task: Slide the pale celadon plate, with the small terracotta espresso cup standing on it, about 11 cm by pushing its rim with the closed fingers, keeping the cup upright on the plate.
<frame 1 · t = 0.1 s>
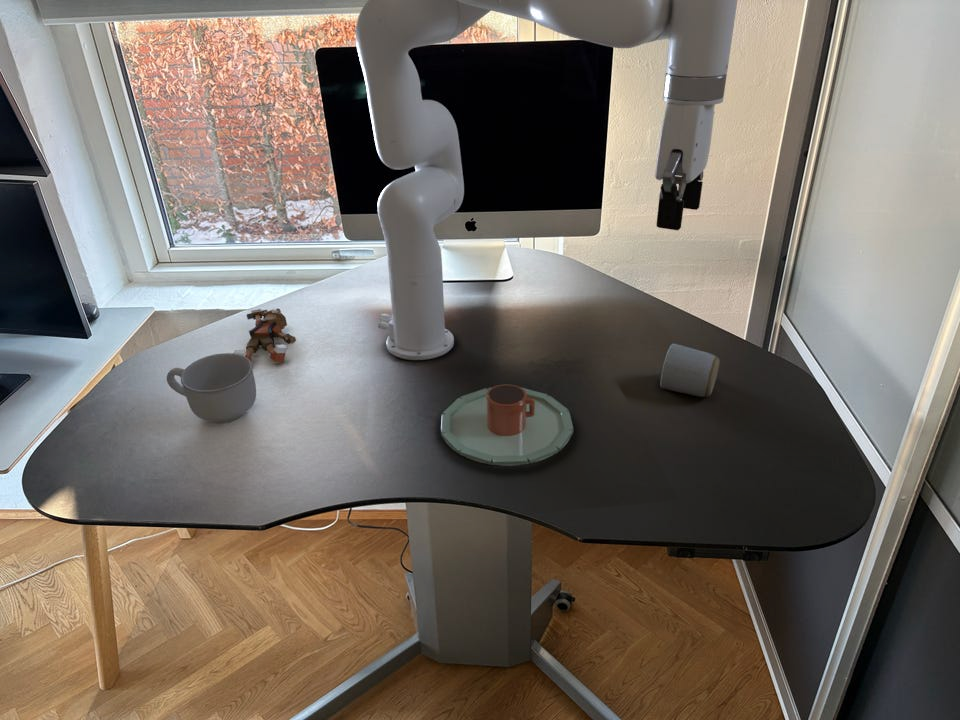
hand: (678, 217, 101), 31 cm above the table, tool pointing down, fingers open, 9 cm apart
espresso cup: (506, 424, 110), point 1 cm above the table, touching plate
character figurine: (267, 345, 137), on the table
teacup: (218, 411, 117), on the table
plate: (506, 431, 111), on the table, touching espresso cup
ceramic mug: (687, 387, 121), on the table
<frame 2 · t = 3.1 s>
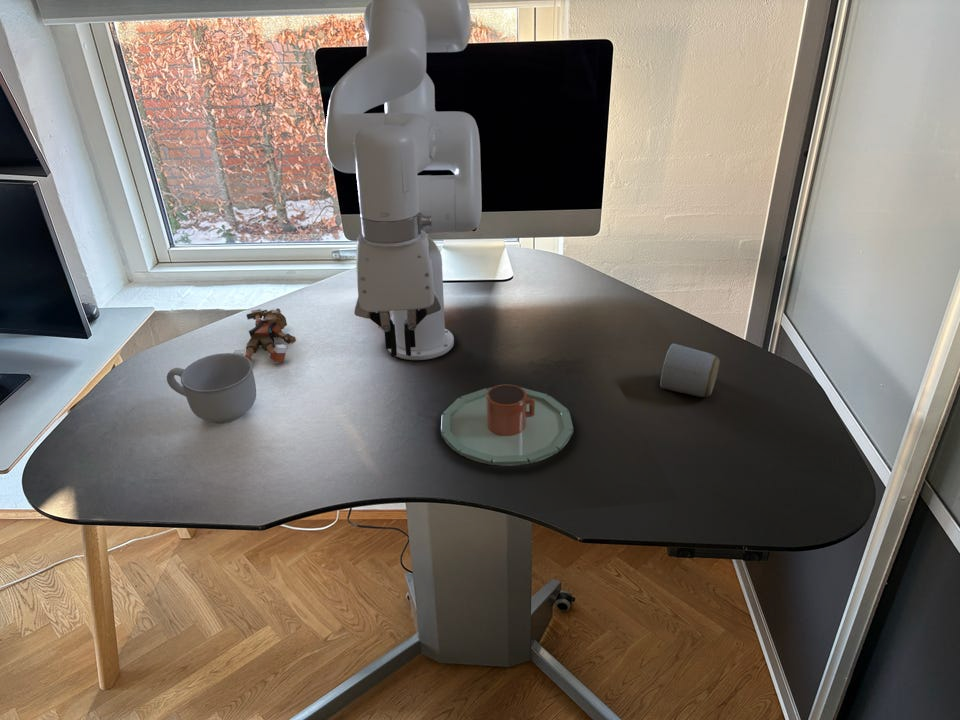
hand: (401, 351, 102), 15 cm above the table, tool pointing down, fingers closed
nothing on the table moved.
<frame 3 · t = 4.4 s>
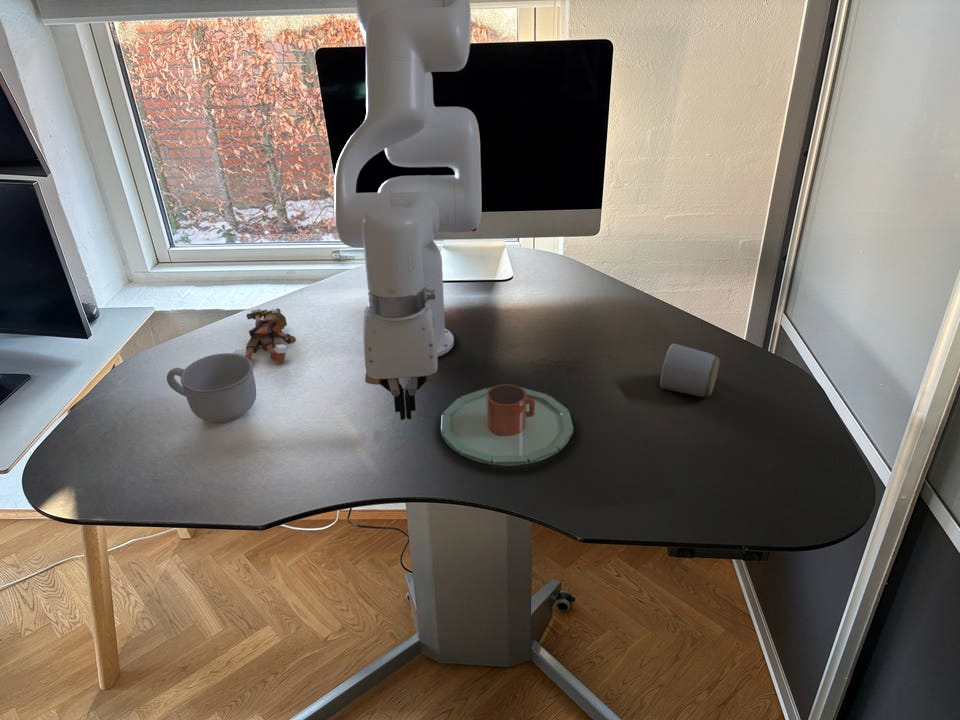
hand: (405, 414, 106), 5 cm above the table, tool pointing down, fingers closed
nothing on the table moved.
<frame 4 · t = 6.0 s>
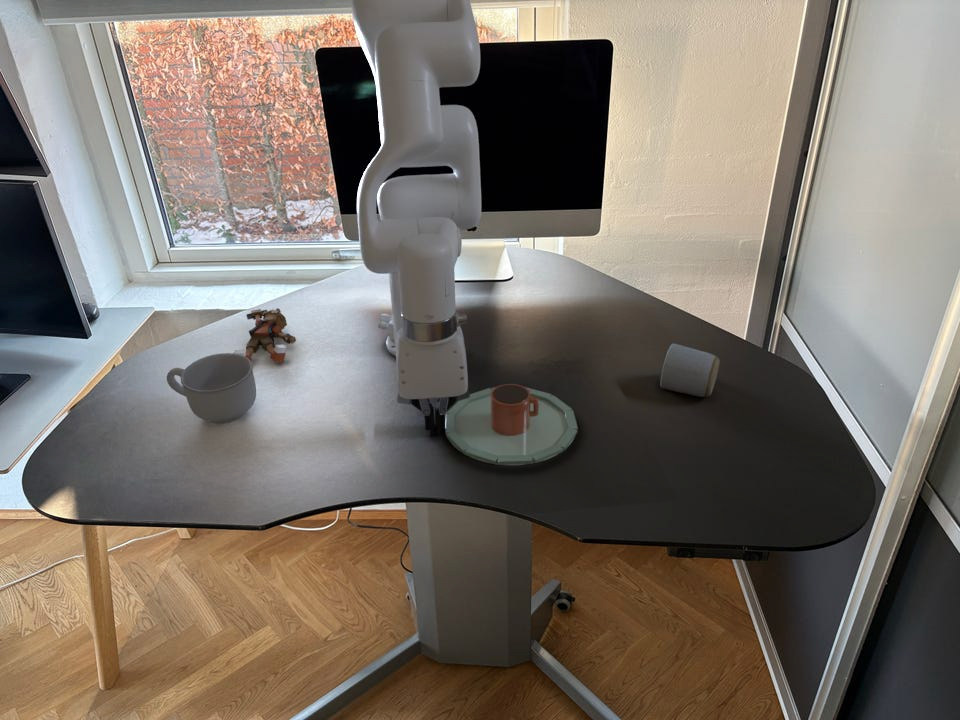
hand: (435, 432, 109), 1 cm above the table, tool pointing down, fingers closed
plate: (510, 430, 111), on the table, touching espresso cup, gripper
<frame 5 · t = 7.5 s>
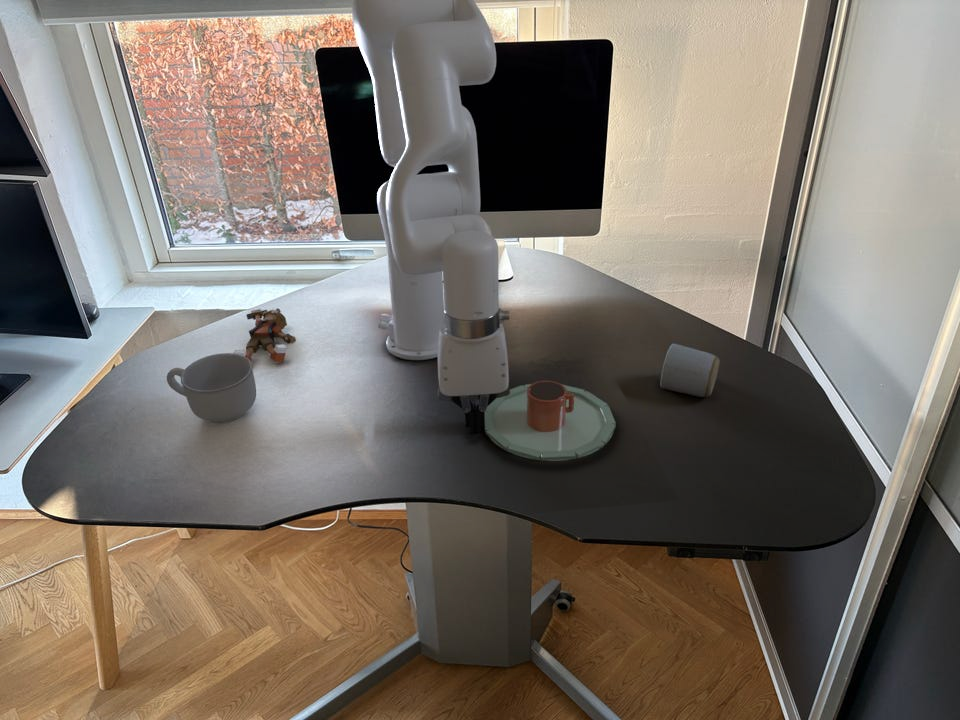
hand: (474, 429, 110), 1 cm above the table, tool pointing down, fingers closed
espresso cup: (545, 420, 111), point 1 cm above the table
plate: (548, 426, 111), on the table, touching gripper
everything else where it was.
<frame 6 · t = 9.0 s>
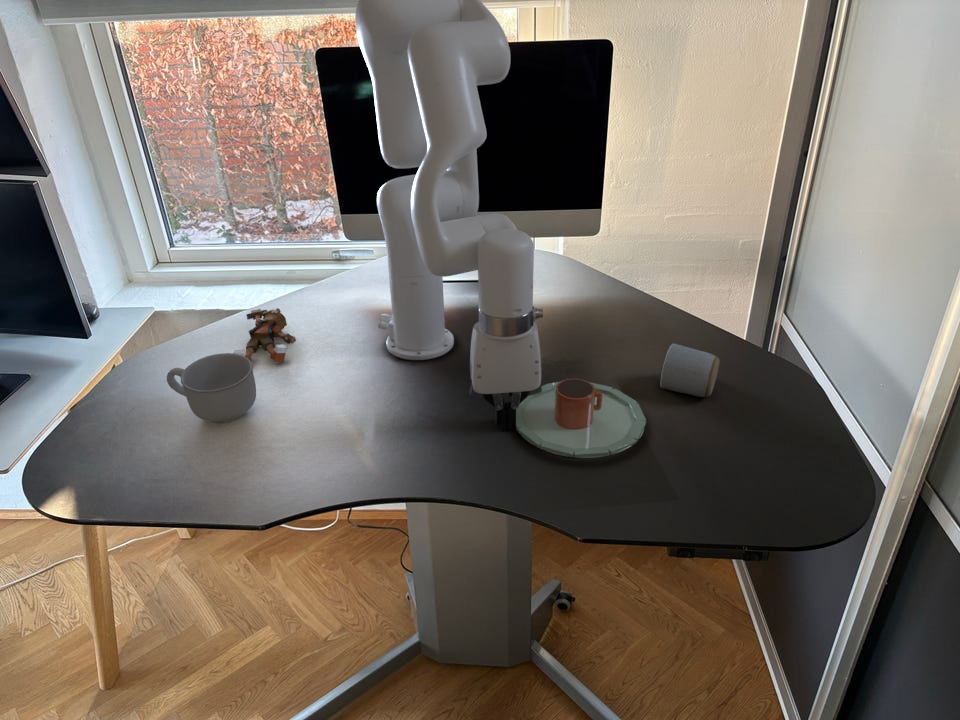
hand: (505, 426, 110), 1 cm above the table, tool pointing down, fingers closed
espresso cup: (573, 418, 111), point 1 cm above the table, touching plate
plate: (578, 424, 112), on the table, touching espresso cup, gripper
everything else where it was.
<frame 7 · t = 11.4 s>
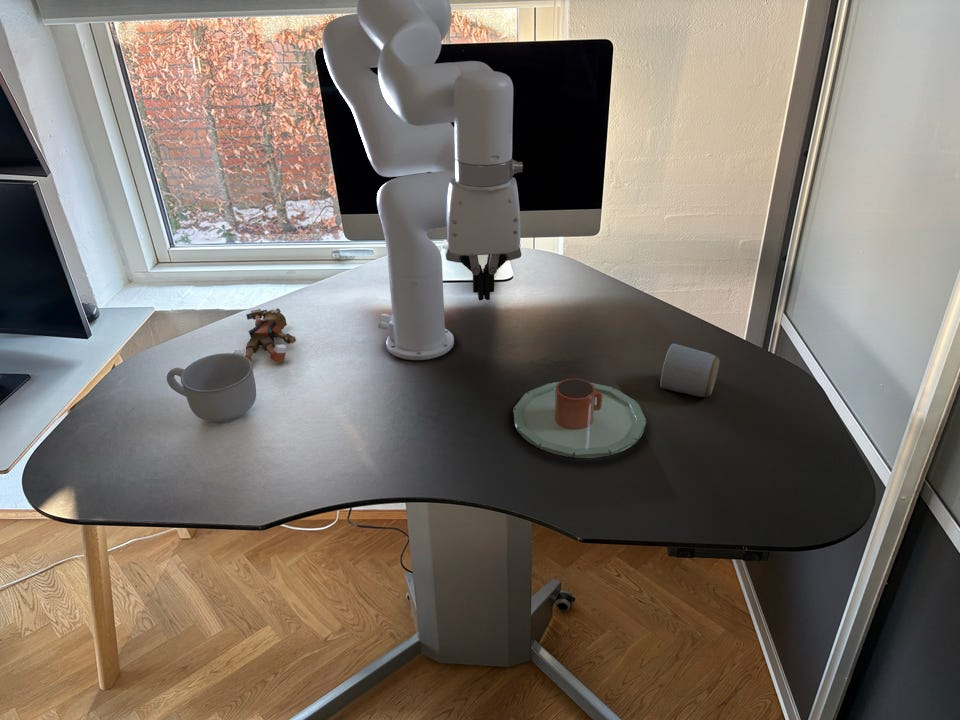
hand: (483, 296, 105), 20 cm above the table, tool pointing down, fingers closed
plate: (578, 424, 112), on the table, touching espresso cup
everything else where it was.
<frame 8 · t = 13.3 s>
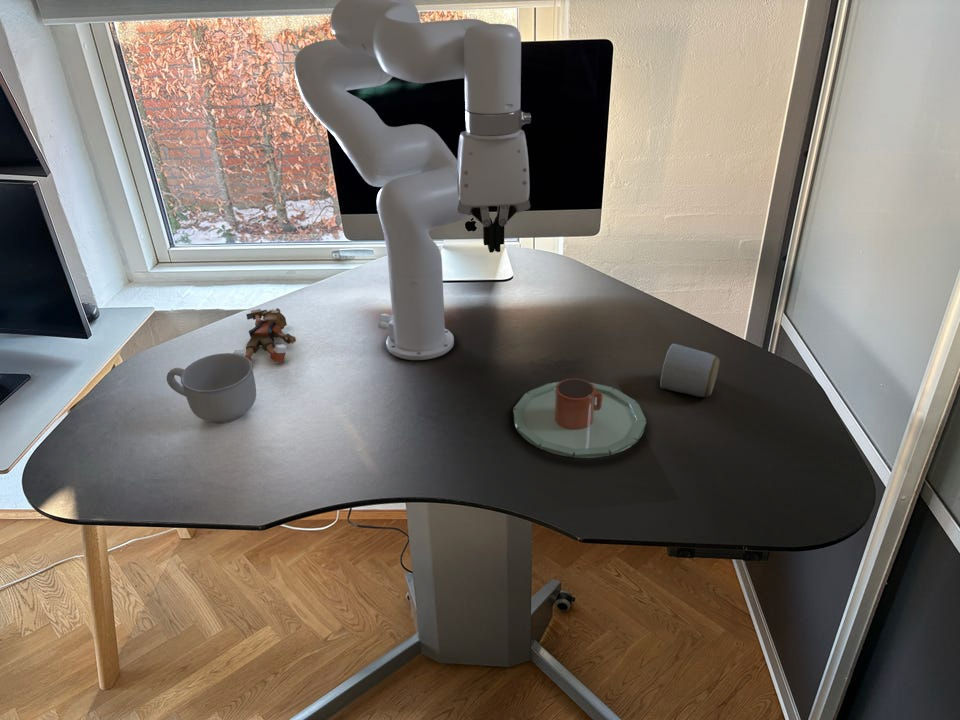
hand: (493, 248, 108), 25 cm above the table, tool pointing down, fingers closed
nothing on the table moved.
at the end: plate inside the target area (0.1 cm from its centre), on the table; espresso cup inside the target area on the plate (0.8 cm from its centre), point 1.2 cm above the plate's base; espresso cup tilted 0° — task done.
